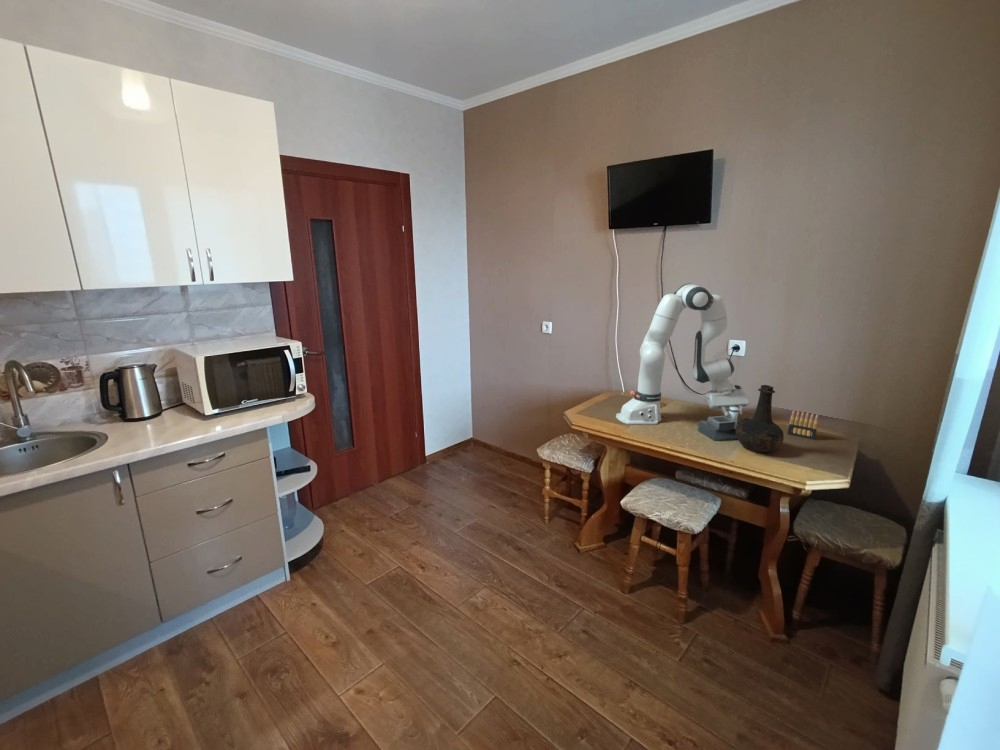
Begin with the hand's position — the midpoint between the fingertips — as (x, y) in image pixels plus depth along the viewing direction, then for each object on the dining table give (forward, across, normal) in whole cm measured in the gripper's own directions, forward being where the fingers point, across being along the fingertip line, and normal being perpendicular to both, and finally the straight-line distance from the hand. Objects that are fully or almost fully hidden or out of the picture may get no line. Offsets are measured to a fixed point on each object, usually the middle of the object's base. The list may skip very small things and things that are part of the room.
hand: (734, 415), depth 212 cm
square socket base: (+10, -14, -3) cm, 18 cm away
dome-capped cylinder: (+3, 0, +4) cm, 5 cm away
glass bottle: (+22, -8, -14) cm, 27 cm away
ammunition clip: (+17, +21, -9) cm, 28 cm away
